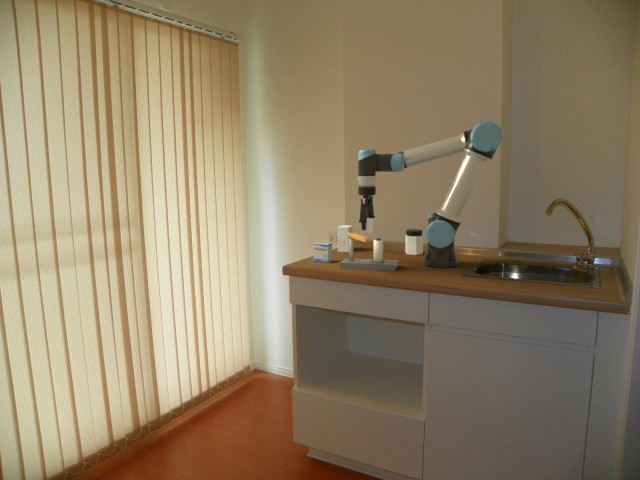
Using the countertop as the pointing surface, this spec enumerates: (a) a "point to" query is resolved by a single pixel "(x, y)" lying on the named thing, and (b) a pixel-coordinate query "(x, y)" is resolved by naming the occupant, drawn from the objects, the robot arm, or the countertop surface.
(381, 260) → the plug
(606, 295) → the countertop surface
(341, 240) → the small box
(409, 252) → the jar
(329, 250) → the medicine box
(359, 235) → the bar
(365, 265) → the grey post stand
